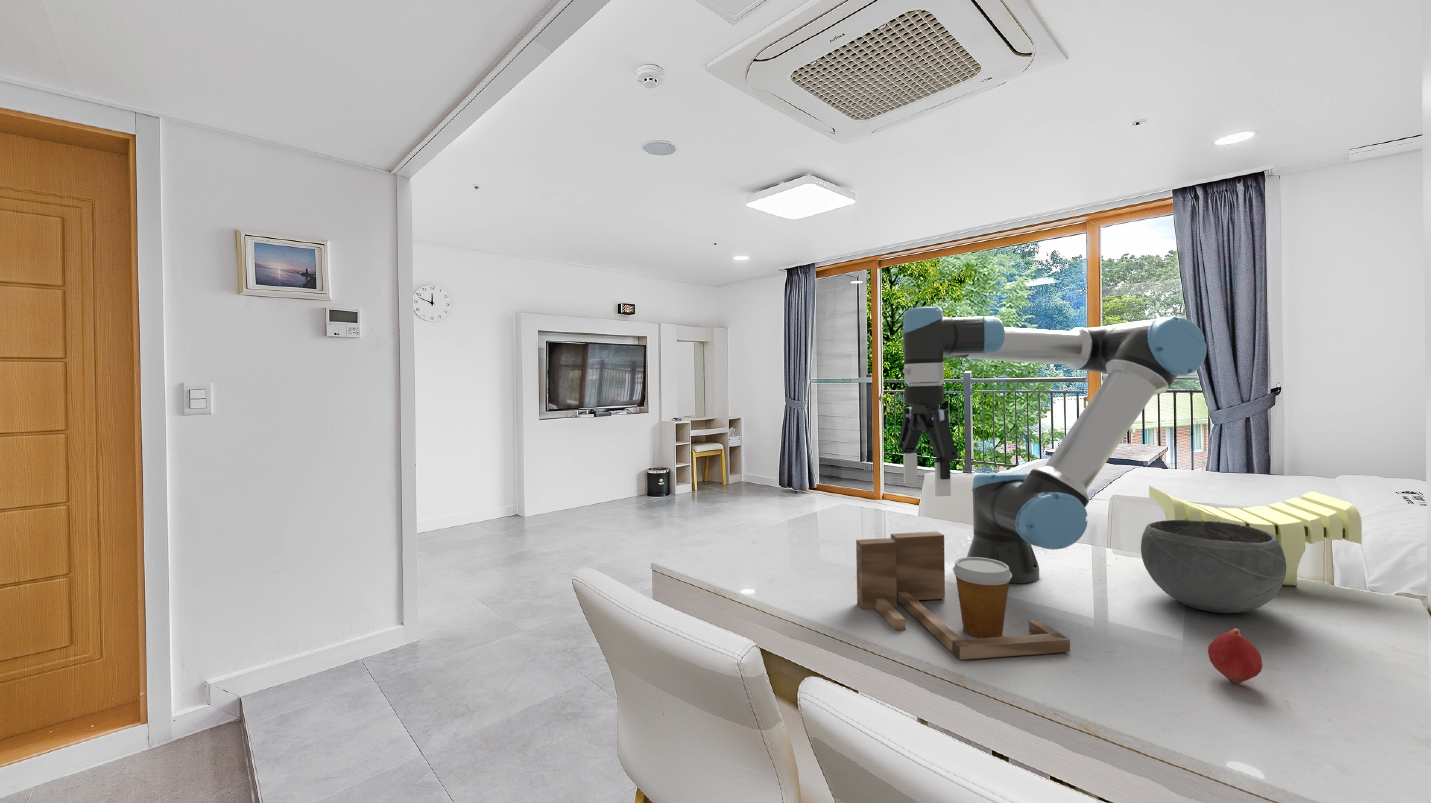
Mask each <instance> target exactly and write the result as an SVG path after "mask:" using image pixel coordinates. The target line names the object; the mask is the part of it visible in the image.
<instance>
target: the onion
mask: <svg viewBox="0 0 1431 803" xmlns="http://www.w3.org/2000/svg"><path fill="white" fill-rule="evenodd" d="M1207 654H1208V658H1209V662H1210V663H1211V664H1212V666H1213V668H1215V669H1216V670H1217V671H1218V672H1219V673H1220V674H1222V675H1223V677H1225V678H1227V680H1229V682H1231V683H1233V684H1242V683H1244V682H1246V681H1248V680H1251V679H1253V678H1256V677H1257V676H1258V675H1259V674H1260V673H1261V672H1262V669H1263V658H1262V655H1261V653H1260V651H1259V650H1258V648H1257V647H1256V646H1255V645H1254V644H1253V643H1252V642H1251V641H1250V640H1249V639H1247V638H1246V637H1244V636H1243V635H1242V634H1241V631H1240V629H1238V628H1232V630H1230V631H1227V632H1224V633H1222V634H1219V635H1217V636H1216V637H1215V638H1214V639H1213V640H1211V642H1210V643H1209V644H1208V647H1207Z"/></svg>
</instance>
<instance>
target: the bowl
mask: <svg viewBox="0 0 1431 803" xmlns="http://www.w3.org/2000/svg"><path fill="white" fill-rule="evenodd" d="M1140 554H1141V555H1140V556H1141V560H1142V562H1143V565H1144V568H1145V569H1146V571H1147V573H1148V574H1149V576H1150V577H1151V579H1152V580H1153V581H1154V582H1155V584H1156V585H1157V586H1158V587H1159V588H1160V589H1161V590H1162V591H1163V592H1164V593H1165V594H1167V595H1168V596H1169V597H1171V598H1172V599H1174V600H1176V601H1177V602H1180V603H1181V604H1183V605H1185V606H1188V607H1190V608H1193V609H1197V610H1201V611H1205V612H1210V613H1220V614H1232V613H1233V614H1235V613H1236V614H1239V613H1246V612H1250V611H1254V610H1256V609H1258V608H1261V607H1263V606H1264V605H1265V604H1268V602H1271V600H1272V599H1274V598H1275V597H1276V596H1277V595H1278V593H1279V592H1280V590H1281V589H1282V586H1284V585H1283V582H1284V580H1285V576H1286V560H1285V556H1284V553H1283V550H1282V547H1281V545H1280V544H1279V542H1278V540H1277V538H1276V537H1275V536H1274V535H1273V534H1271V533H1268V532H1266V531H1263V530H1261V529H1257V528H1253V527H1248V526H1244V525H1243V526H1241V525H1238V524H1232V523H1224V522H1213V521H1189V520H1166V519H1165V520H1160V521H1159V520H1158V521H1155V522H1150V523H1148V524H1147V525H1146V526H1145V528H1144V531H1143V533H1142V536H1141V542H1140Z"/></svg>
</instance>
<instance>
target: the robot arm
mask: <svg viewBox="0 0 1431 803" xmlns="http://www.w3.org/2000/svg"><path fill="white" fill-rule="evenodd" d="M902 335H903V336H902V337H903V360H904V361H903V363H904V364H903V365H904V366H903V368H904V369H902V373H903V374H904V375H903V376H904V383H905V384H907V386H905V387H904V391H903V392H904V403H905V404H906V405H907V407H903V419H902V424H901V428H900V434H899V439H898V442H897V448H898V449H899V450H901V453H903V454H902V456H903V457H902V458H903V461H902V462H903V484H904V485H912V484H918V449H917V446H918V444H919V442H920V438H921V437H922V435H923V433H924V434H925V435H927V438H928V441H929V442H930V444H931V448H932V450H933V452H934V455H935V459H934V462H933V463H934V483H935V484H934V485H935V486H934V489H935V490H934V492H935V493H934V494H935V497H950V496H951V495H952V492H951V491H952V489H951V488H952V487H951V484H952V483H951V482H952V481H951V463H952V462H953V461H957V460H958V458H959V456H958V451H957V448H956V445H955V440H954V438H953V433H952V430H951V427H950V422H949V415H948V414H949V412H948V410H947V409H939V408H938V405H942V404H944V403H945V387H944V385H942V383H944V381H945V372H944V371H945V367H944V365H945V363H944V362H945V361H944V358H950V359H951V358H954V359H969V360H970V359H972V360H973V359H974V360H987V361H1005V362H1018V363H1019V362H1020V363H1035V364H1037V363H1038V364H1039V363H1040V364H1050V365H1051V364H1053V365H1065V366H1066V368H1068V369H1070V370H1076V371H1087V372H1093V373H1099V374H1100V373H1101V374H1107V376H1106V378H1104V381H1103V382H1102V383H1101V385H1100V386H1099V388H1098V389H1097V390H1096V392H1095V393H1094V395H1093V396H1092V397H1091V399H1090V401H1089V402H1088V404H1087V405H1086V406H1085V408H1084V410H1082V412H1081V413H1080V415H1079V416H1078V418H1077V419H1076V421H1075V422H1074V423H1073V425H1072V426H1071V428H1070V429H1069V430H1068V431H1067V433H1066V434H1065V436H1064V438H1063V439H1062V440H1061V442H1060V444H1058V446H1057V447H1056V449H1055V450H1054V452H1052V455H1051V456H1050V458H1049V459H1048V461H1047V462H1046V463H1045V464H1044V466H1042V467H1035V468H1032V469H1031V470H1030V472H1029V473H1025V472H991V473H990V472H989V473H985V472H984V473H979V474H976V475H974V477H973V479H972V488H971V492H972V514H973V515H972V516H973V518H972V520H973V523H972V524H973V526H972V527H973V537H972V541H971V543H970V546H969V548H968V552H967V554H966V557H980V558H988V559H994V560H997V561H1000V562H1003V563H1005V564H1006V565H1008V567H1009V570H1010V572H1011V574H1012V578H1011V579H1010V581H1009V584H1026V583H1027V584H1028V583H1032V582H1036V581H1038V580H1039V579H1040V566H1039V563H1038V560H1037V557H1036V554H1035V552H1034V549H1033V546H1034V547H1039V548H1042V549H1045V550H1052V551H1054V550H1060V549H1061V550H1062V549H1065V548H1068V547H1070V546H1072V545H1074V544H1076V543H1077V541H1079V540H1080V539H1081V538H1082V537H1083V535H1084V534H1085V532H1086V530H1087V526H1088V522H1089V521H1088V520H1087V517H1088V512H1087V510H1086V507H1087V506H1088V504H1089V502H1090V498H1089V495H1088V489H1089V487H1090V486H1091V484H1092V483H1093V482H1094V480H1095V479H1096V477H1097V476H1098V475H1099V473H1100V471H1101V470H1102V469H1103V467H1104V466H1105V465H1106V463H1107V462H1108V460H1109V459H1110V458H1111V457H1112V454H1113V453H1114V452H1115V450H1116V449H1117V447H1118V446H1119V445H1120V443H1121V441H1122V440H1123V438H1124V437H1125V436H1126V434H1127V433H1128V431H1129V430H1130V429H1131V427H1132V426H1133V424H1134V423H1135V421H1136V420H1137V419H1138V417H1139V416H1140V415H1141V413H1142V412H1143V410H1144V408H1146V406H1147V404H1148V403H1149V402H1150V400H1151V399H1152V397H1153V396H1155V395H1159V394H1165V393H1166V392H1167V391H1168V390H1169V388H1170V387H1171V385H1172V384H1173V383H1174V382H1175V380H1176V379H1177V377H1179V376H1182V377H1183V376H1188V375H1189V374H1192V373H1194V372H1196V371H1197V370H1198V369H1200V368H1201V366H1202V365H1203V363H1204V362H1205V360H1206V359H1205V358H1206V357H1207V356H1206V355H1207V351H1208V350H1207V343H1206V341H1205V336H1204V333H1203V331H1202V330H1201V328H1199V326H1198V325H1197V324H1195V323H1194V322H1193V321H1191V320H1190V319H1188V318H1185V317H1182V316H1158V317H1156V318H1154V319H1146V320H1139V321H1131V322H1122V323H1121V322H1120V323H1117V324H1110V325H1105V326H1096V327H1095V326H1094V327H1074V328H1072V329H1071V330H1069V331H1067V330H1054V329H1053V330H1052V329H1051V330H1049V329H1040V328H1039V329H1038V328H1037V329H1036V328H1020V327H1018V328H1017V327H1007V326H1006V327H1005V326H1004V323H1003V322H1002V320H1001V319H1000V318H998V317H996V316H985V315H982V316H961V317H959V316H958V317H949V316H948V317H947V316H944V313H943V308H941V307H939V306H920V307H919V306H918V307H912V308H909V309H907V310H906V311H905V312H904V314H903V320H902ZM908 405H909V406H910V407H908Z"/></svg>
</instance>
